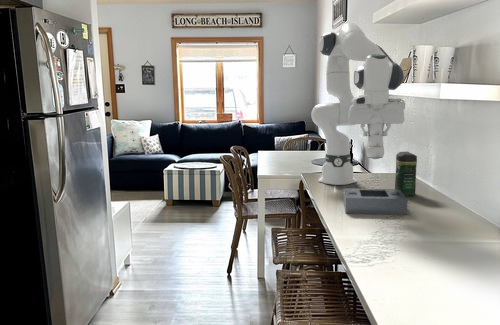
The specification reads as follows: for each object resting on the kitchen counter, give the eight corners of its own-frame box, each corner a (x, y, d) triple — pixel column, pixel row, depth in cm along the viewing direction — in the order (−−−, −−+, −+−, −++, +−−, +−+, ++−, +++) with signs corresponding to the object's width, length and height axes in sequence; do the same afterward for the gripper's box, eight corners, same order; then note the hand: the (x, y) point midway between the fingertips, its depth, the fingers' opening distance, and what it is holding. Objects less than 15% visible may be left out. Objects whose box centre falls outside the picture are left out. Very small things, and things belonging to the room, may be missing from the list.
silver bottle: (377, 160, 157) (379, 106, 153) (362, 158, 162) (363, 106, 158) (387, 158, 161) (389, 105, 157) (372, 156, 166) (373, 105, 162)
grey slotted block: (343, 202, 174) (343, 187, 173) (399, 203, 170) (399, 188, 169) (345, 213, 159) (345, 197, 158) (406, 214, 156) (407, 198, 155)
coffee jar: (417, 196, 179) (419, 153, 176) (398, 197, 180) (400, 154, 177) (410, 191, 189) (412, 150, 186) (392, 191, 190) (394, 150, 186)
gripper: (403, 98, 159) (402, 134, 161) (347, 99, 162) (347, 135, 165) (407, 98, 153) (405, 136, 155) (349, 99, 156) (348, 137, 158)
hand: (375, 135), depth 160 cm, fingers closed on silver bottle, 6 cm apart
